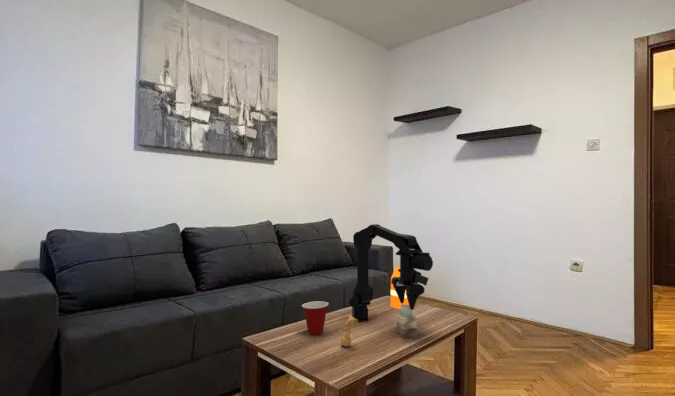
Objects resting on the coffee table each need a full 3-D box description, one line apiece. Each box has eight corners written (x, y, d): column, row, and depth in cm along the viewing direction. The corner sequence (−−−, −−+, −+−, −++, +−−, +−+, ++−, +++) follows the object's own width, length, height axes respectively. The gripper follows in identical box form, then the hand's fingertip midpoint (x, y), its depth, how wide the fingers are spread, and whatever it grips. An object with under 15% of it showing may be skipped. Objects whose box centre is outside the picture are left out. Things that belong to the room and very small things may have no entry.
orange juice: (403, 310, 187) (404, 269, 187) (390, 306, 194) (390, 267, 194) (414, 307, 192) (414, 267, 192) (400, 303, 199) (400, 265, 199)
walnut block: (402, 339, 149) (402, 329, 149) (396, 334, 155) (396, 324, 155) (416, 338, 151) (416, 327, 151) (410, 332, 156) (410, 323, 156)
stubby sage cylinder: (403, 318, 150) (403, 308, 150) (398, 314, 154) (398, 304, 154) (414, 317, 151) (414, 307, 151) (409, 313, 156) (409, 304, 156)
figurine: (349, 341, 146) (350, 310, 146) (361, 346, 141) (361, 313, 141) (334, 347, 140) (334, 314, 140) (345, 352, 135) (346, 318, 135)
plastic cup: (311, 326, 162) (311, 298, 162) (333, 331, 157) (333, 302, 157) (296, 334, 153) (296, 304, 153) (318, 339, 147) (318, 308, 147)
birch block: (403, 329, 149) (403, 318, 149) (396, 324, 155) (396, 314, 155) (416, 327, 151) (416, 317, 151) (409, 323, 157) (409, 313, 157)
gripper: (437, 270, 146) (436, 311, 146) (415, 262, 164) (415, 299, 164) (410, 271, 143) (409, 313, 143) (391, 263, 161) (390, 300, 161)
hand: (406, 306), depth 153 cm, fingers open, 9 cm apart
